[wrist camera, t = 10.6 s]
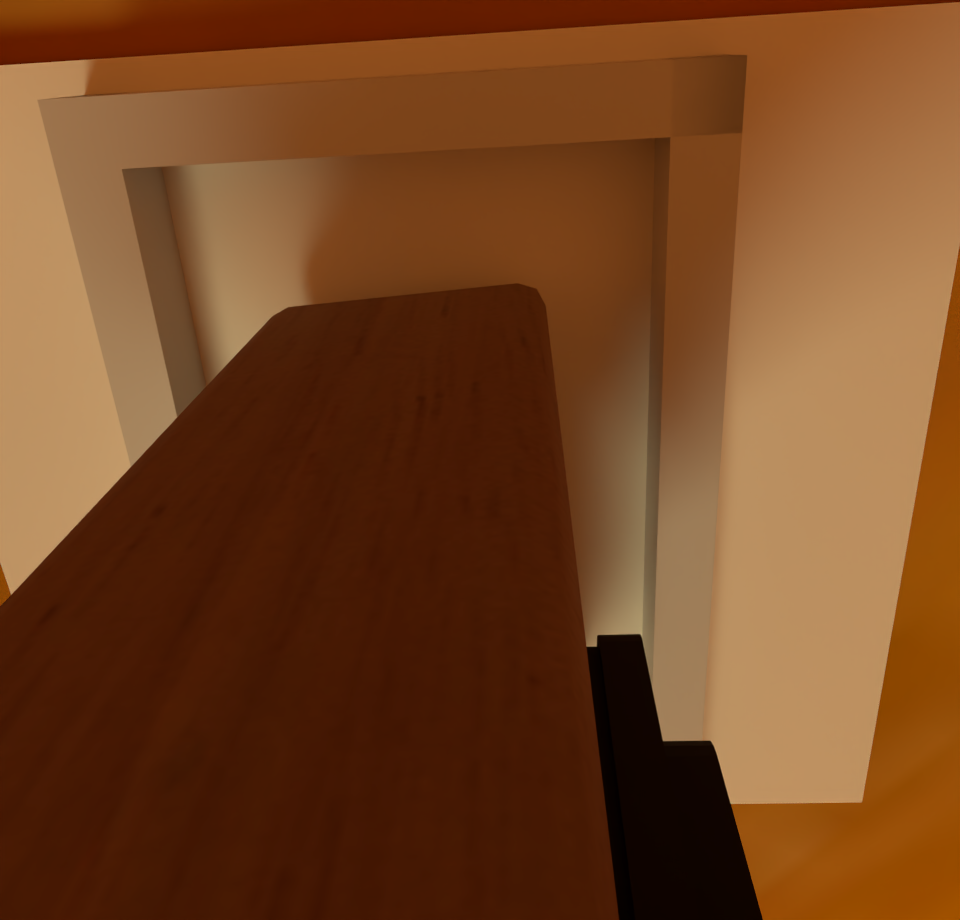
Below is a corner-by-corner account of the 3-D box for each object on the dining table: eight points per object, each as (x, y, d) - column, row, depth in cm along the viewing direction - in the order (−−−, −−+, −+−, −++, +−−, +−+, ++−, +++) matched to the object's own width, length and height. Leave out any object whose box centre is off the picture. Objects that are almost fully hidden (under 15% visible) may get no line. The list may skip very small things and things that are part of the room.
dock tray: (970, 2, 14) (1060, -7, 11) (846, 768, 20) (887, 858, 18) (-126, 74, 15) (-242, 78, 12) (104, 779, 21) (55, 865, 19)
